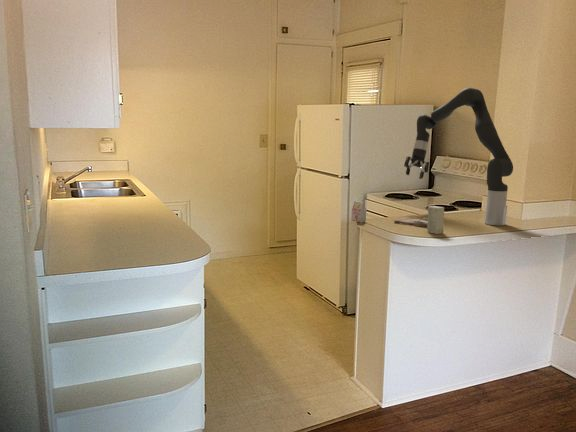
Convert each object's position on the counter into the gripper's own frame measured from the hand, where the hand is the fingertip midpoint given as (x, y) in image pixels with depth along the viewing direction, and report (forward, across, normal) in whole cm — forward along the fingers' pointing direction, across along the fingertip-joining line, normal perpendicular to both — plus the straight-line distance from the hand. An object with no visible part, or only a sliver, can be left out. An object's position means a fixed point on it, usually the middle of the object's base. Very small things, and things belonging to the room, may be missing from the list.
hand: (414, 176), depth 293 cm
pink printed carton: (+34, -37, -21) cm, 54 cm away
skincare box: (+32, -13, -54) cm, 64 cm away
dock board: (+28, -10, -33) cm, 45 cm away
